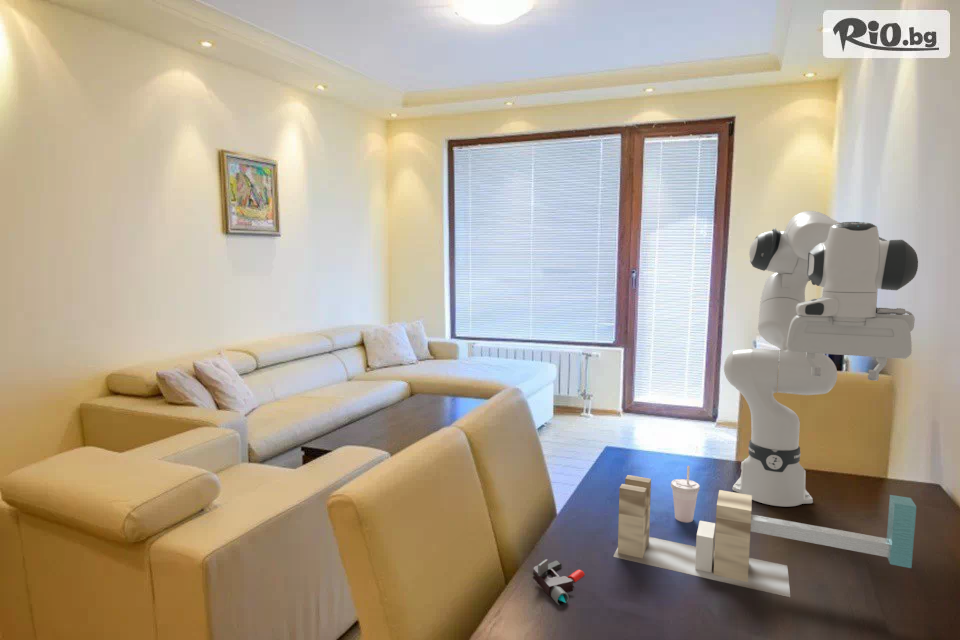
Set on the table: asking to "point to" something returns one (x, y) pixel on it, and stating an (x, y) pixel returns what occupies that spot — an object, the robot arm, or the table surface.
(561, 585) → the toy gun
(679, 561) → the stand
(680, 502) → the smoothie
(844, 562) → the table surface
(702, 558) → the collar
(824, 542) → the shaft
